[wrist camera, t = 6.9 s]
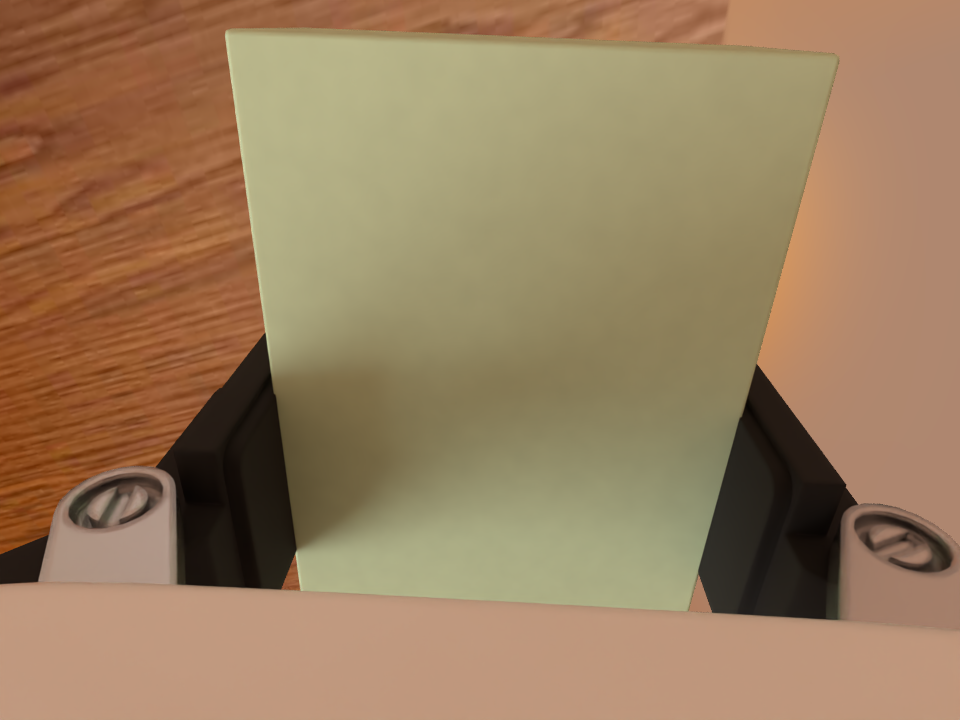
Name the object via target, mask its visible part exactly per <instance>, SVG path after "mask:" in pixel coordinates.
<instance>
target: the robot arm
mask: <svg viewBox="0 0 960 720" xmlns="http://www.w3.org/2000/svg"><path fill="white" fill-rule="evenodd" d="M296 550H297V549H296V541H295V534H294V527H293V519H292V512H291V504H290V497H289V489H288V482H287V475H286V467H285V460H284V452H283V445H282V438H281V430H280V423H279V415H278V408H277V401H276V394H274V391H273V383H272V376H271V369H270V361H269V354H268V347H267V339H266V332H265V334H264V335H263V336H262V337H261V339H260V340H259V341H258V342H257V344H256V345H255V346H254V348H253V349H252V350H251V351H250V353H249V354H248V355H247V357H246V358H245V359H244V360H243V362H242V363H241V364H240V366H239V367H238V368H237V369H236V371H235V372H234V373H233V374H232V376H231V377H230V378H229V380H228V381H227V382H226V383H225V385H224V386H223V387H222V388H219V389H218V390H217V391H216V392H215V393H214V394H213V395H212V397H211V398H210V399H209V400H208V402H207V403H206V404H205V405H204V407H203V408H202V409H201V411H200V412H199V413H198V414H197V416H196V417H195V418H194V419H193V421H192V422H191V423H190V424H189V426H188V427H187V428H186V429H185V431H184V432H183V433H182V435H181V436H180V437H179V438H178V440H177V441H176V442H175V443H174V445H173V446H172V447H171V448H170V450H169V451H168V452H167V454H166V455H165V456H164V457H163V459H162V460H161V461H160V462H159V464H158V465H157V466H156V467H148V466H131V467H122V468H118V469H114V470H110V471H107V472H103V473H100V474H98V475H96V476H94V477H91V478H89V479H87V480H85V481H83V482H82V483H80V484H79V485H77V486H76V487H74V488H73V489H71V490H70V491H69V492H68V493H67V494H66V495H65V496H64V497H63V498H62V499H61V500H60V502H59V504H58V506H57V508H56V510H55V512H54V516H53V520H52V524H51V529H50V533H49V535H47V536H45V537H42V538H40V539H37V540H35V541H32V542H30V543H27V544H25V545H22V546H20V547H18V548H15V549H13V550H10V551H8V552H5V553H3V554H0V720H960V546H959V545H958V544H957V543H956V542H955V541H954V540H953V538H951V536H950V535H948V534H947V533H946V532H944V531H943V530H942V529H940V528H939V527H938V526H936V525H935V524H933V523H931V522H929V521H928V520H926V519H924V518H922V517H920V516H918V515H916V514H914V513H911V512H908V511H906V510H903V509H900V508H897V507H892V506H888V505H883V504H866V503H864V504H860V505H858V504H857V502H856V501H855V499H854V498H853V497H852V495H851V494H850V493H849V491H848V490H847V489H846V484H845V483H844V481H843V480H842V478H841V477H840V476H839V474H838V473H837V472H836V470H835V469H834V468H833V466H832V465H831V463H830V462H829V461H828V459H827V458H826V457H825V455H824V454H823V453H822V451H821V450H820V448H819V447H818V446H817V444H816V443H815V442H814V440H813V439H812V438H811V436H810V435H809V434H808V432H807V431H806V430H805V428H804V427H803V426H802V424H801V423H800V421H799V420H798V419H797V418H796V416H795V415H794V413H793V412H792V411H791V409H790V408H789V407H788V405H787V404H786V403H785V401H784V400H783V399H782V397H781V396H780V395H779V393H778V392H777V390H776V389H775V388H774V386H773V385H772V384H771V382H770V381H769V380H768V378H767V377H766V376H765V374H764V373H763V372H762V370H761V369H760V367H759V366H758V365H757V364H756V367H755V371H754V375H753V378H752V382H751V385H750V389H749V393H748V396H747V400H746V404H745V407H744V411H743V415H742V417H740V418H739V422H738V426H737V429H736V433H735V437H734V440H733V444H732V448H731V451H730V455H729V459H728V462H727V466H726V470H725V473H724V477H723V481H722V484H721V488H720V492H719V495H718V499H717V503H716V506H715V510H714V514H713V517H712V521H711V525H710V528H709V532H708V536H707V539H706V543H705V547H704V550H703V554H702V558H701V561H700V565H699V569H698V573H699V576H700V579H701V582H702V584H703V587H704V590H705V593H706V596H707V599H708V602H709V605H710V607H711V610H712V613H705V612H689V611H671V610H652V609H634V608H615V607H597V606H578V605H560V604H542V603H524V602H505V601H485V600H467V599H448V598H429V597H411V596H393V595H374V594H356V593H338V592H317V591H297V590H281V588H282V585H283V583H284V580H285V578H286V575H287V573H288V570H289V568H290V565H291V563H292V560H293V558H294V555H295V553H296Z"/></svg>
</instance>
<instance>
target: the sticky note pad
mask: <svg viewBox="0 0 960 720" xmlns="http://www.w3.org/2000/svg"><path fill="white" fill-rule="evenodd" d="M225 38H226V46H227V53H228V60H229V68H230V75H231V82H232V90H233V97H234V104H235V112H236V119H237V126H238V134H239V141H240V149H241V156H242V163H243V171H244V178H245V185H246V193H247V200H248V207H249V215H250V222H251V229H252V237H253V244H254V251H255V259H256V266H257V273H258V281H259V288H260V295H261V303H262V310H263V317H264V325H265V332H266V339H267V347H268V354H269V361H270V369H271V376H272V383H273V391H274V394H276V401H277V408H278V415H279V423H280V430H281V438H282V445H283V452H284V460H285V467H286V475H287V482H288V489H289V497H290V504H291V512H292V519H293V527H294V534H295V541H296V549H297V550H296V560H297V567H298V574H299V582H300V589H301V591H317V592H338V593H356V594H374V595H393V596H411V597H429V598H448V599H467V600H485V601H505V602H524V603H542V604H560V605H578V606H597V607H615V608H634V609H652V610H671V611H689V608H690V604H691V600H692V597H693V593H694V589H695V586H696V582H697V578H698V575H699V573H698V569H699V565H700V561H701V558H702V554H703V550H704V547H705V543H706V539H707V536H708V532H709V528H710V525H711V521H712V517H713V514H714V510H715V506H716V503H717V499H718V495H719V492H720V488H721V484H722V481H723V477H724V473H725V470H726V466H727V462H728V459H729V455H730V451H731V448H732V444H733V440H734V437H735V433H736V429H737V426H738V422H739V418H740V417H742V415H743V411H744V407H745V404H746V400H747V396H748V393H749V389H750V385H751V382H752V378H753V375H754V371H755V367H756V364H757V360H758V356H759V353H760V349H761V345H762V342H763V338H764V334H765V331H766V327H767V324H768V320H769V316H770V313H771V309H772V305H773V302H774V298H775V294H776V290H777V287H778V283H779V280H780V276H781V273H782V269H783V265H784V262H785V258H786V254H787V251H788V247H789V243H790V240H791V236H792V232H793V229H794V225H795V221H796V218H797V214H798V210H799V207H800V203H801V199H802V196H803V192H804V189H805V185H806V181H807V178H808V174H809V171H810V166H811V163H812V160H813V156H814V152H815V149H816V145H817V141H818V138H819V134H820V130H821V127H822V123H823V119H824V116H825V112H826V108H827V105H828V101H829V97H830V94H831V90H832V87H833V83H834V79H835V76H836V72H837V69H838V65H839V56H838V55H836V54H834V53H823V52H811V51H799V50H787V49H776V48H764V47H752V46H735V45H712V44H687V43H663V42H639V41H615V40H590V39H566V38H542V37H518V36H494V35H469V34H445V33H421V32H397V31H373V30H348V29H324V28H231V29H229V30H226V34H225Z"/></svg>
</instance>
